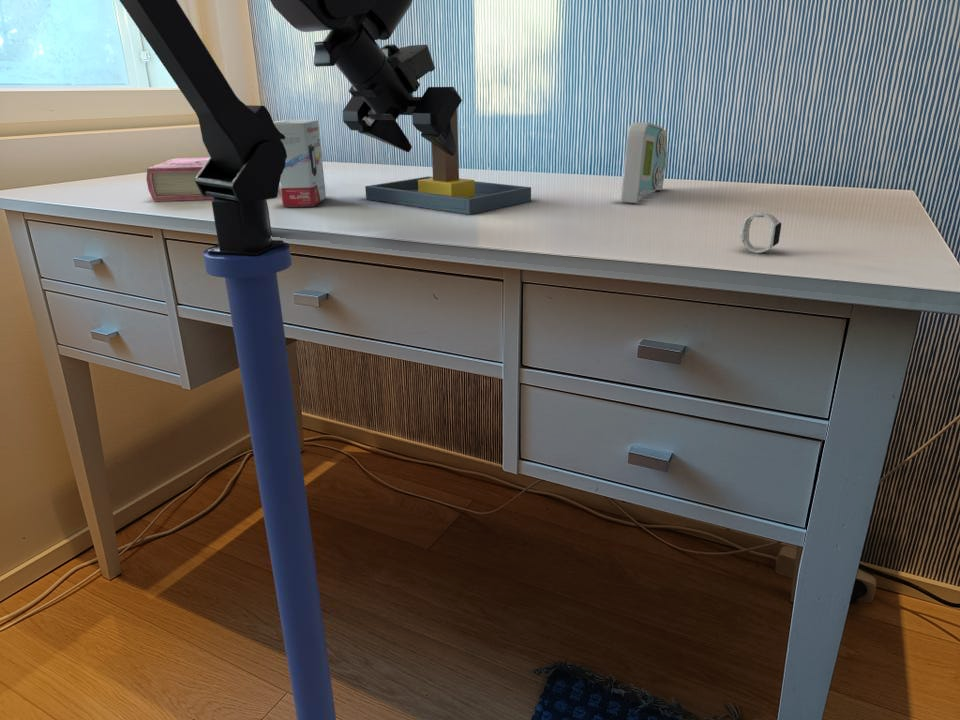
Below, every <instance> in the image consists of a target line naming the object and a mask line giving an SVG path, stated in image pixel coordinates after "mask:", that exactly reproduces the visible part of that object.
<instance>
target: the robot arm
mask: <svg viewBox="0 0 960 720" xmlns="http://www.w3.org/2000/svg"><path fill="white" fill-rule="evenodd" d="M119 2H120V4H121V6H123V8H124V9H125V10H126V12H127V15H128V16H129V17H130V18H131V20H132V21H133V23H134V24H135V25H136V27H137V29H138V30H139V32H140V33H141V35H142V36H143V37H144V39H145V41H146V42H147V43H148V45H149V46H150V48H151V49H152V51H153V52H154V54H155V55H156V57H157V58H158V59H159V62H161V64H162V66H163V67H164V69H165V70H166V71H167V73H168V75H169V76H170V77H171V79H172V80H173V82H174V83H175V85H176V86H177V88H178V89H179V90H180V92H181V94H182V95H183V96H184V98H185V100H186V102H188V104H189V105H190V107H191V108H192V110H193V111H194V113H195V114H196V117H197V119H198V124H199V129H200V133H201V139H202V142H203V145H204V147H205V149H206V151H207V153H208V156H209V157H210V158H209V159H208V161H207V162H206V164H205V165H204V166H203V168H202V169H201V171H200V172H199V174H198V175H197V176H196V178H195V183H196V185H197V186H198V188H199V190H200V192H201V194H202V196H210V197H215V198H213V199H212V200H210V201H211V202H210V203H211V208H212V213H213V219H214V227H215V232H216V239H217V244H218V245H219V246H217V245H216V246H217V247H214V246H213V247H214V248H212V249H209V250H208V254H210V255H233V256H260V255H262V254H264V253H266V252H269V251H271V250H273V249H275V248H277V247H280V246H282V245H284V240H279V239H273V238H272V227H271V219H270V218H271V217H270V210H269V205H268V200H272V199H277V198H278V193H279V189H280V178H281V174H282V173H283V170H284V168H285V162H286V159H287V152H286V149H285V147H284V144H283V143H282V141H281V140H280V139H285V136H284V135H283V134H282V133H280V132H279V130H278V129H277V128H276V127H275V125H274V123H273V122H274V119H273V118H272V116H271V114H270V111H269V110H268V109H267V107H266V106H265V105H250V104H249V105H248V104H245V103H244V102H243V101H242V100H241V99H240V98H239V97H238V96H237V95H236V93H235V92H234V90H233V88H232V87H231V85H230V84H229V82H228V80H227V79H226V77H225V75H224V74H223V72H222V71H221V69H220V67H219V65H218V64H217V63H216V61H215V60H214V58H213V56H212V54H211V53H210V51H209V50H208V48H207V46H206V45H205V43H204V42H203V40H202V38H201V37H200V35H199V33H198V32H197V30H196V29H195V27H194V26H193V24H192V22H191V21H190V19H189V17H188V16H187V14H186V13H185V11H184V10H183V8H182V6H181V4H180V3H179V1H178V0H119ZM269 2H270V3H271V5H272V7H273V8H274V9H275V10H276V11H277V12H278V13H279V14H280V15H281V16H282V17H283V18H284V19H285V21H287V22H288V23H289V25H291V26H292V27H293V28H294V29H295V30H298V31H300V32H301V33H302V32H303V33H310V32H311V33H312V32H322V31H323V32H325V31H329V32H328V34H327V35H326V36H325V38H324V39H323V41H315V42H314V43H313V48H314V52H313V65H314V67H316V68H319V67H321V68H322V67H334V66H336V68H337V69H338V70H339V72H340V73H341V74H342V75H343V76H344V77H345V78H346V80H347V81H348V82H349V83H350V85H351V87H350V88H349V90H348V93H350V95H351V98H350V99H349V100H348V102H347V104H346V105H345V106H344V108H343V110H342V112H341V113H342V122H343V123H344V124H345V125H346V126H347V127H348V129H349V130H350V131H357V132H358V133H359V134H361V135H365V136H367V137H370V138H372V139H375V140H378V141H379V142H382V143H384V144H387V145H389V146H392V147H393V148H396V149H399V150H400V151H403V152H405V153H410V152H411V150H412V148H413V146H412V144H411V142H410V140H409V138H408V137H407V136H406V134H405V132H404V131H403V129H402V128H401V126H400V125H399V123H398V122H397V120H398V118H399V117H400V116H411V120H412V121H411V122H412V123H411V124H412V125H413V127H415V129H416V131H419V133H421V134H420V136H421V137H422V138H423V139H425V140H426V141H428V142H429V143H433V144H434V145H436V146H437V147H439V148H440V149H442V150H443V151H445V152H446V153H448V154H450V155H452V156H454V155H455V153H456V152H457V147H456V143H455V139H454V134H453V130H452V125H451V118H452V116H453V115H454V113H455V111H456V110H457V111H458V108H459V106H460V105H461V103H462V101H463V99H462V96H460V94H459V92H458V91H457V89H456V88H455V87H454V86H427V88H426V89H425V92H424V93H423V95H422V96H414V95H413V94H414V92H415V93H416V92H417V91H418V90H419V88H420V86H421V84H420V82H419V80H420V79H421V78H422V77H424V76H425V75H427V74H428V73H429V72H430V73H432V72H433V71H434V70H436V66H435V63H434V60H433V58H432V57H433V56H432V54H431V51H430V49H429V45H428V44H412V45H407V46H401V47H398V46H397V45H396V44H395V43H393V44H385V45H384V46H382V47H380V46H379V44H378V43H377V40H381V41H386V40H389V39H390V38H391V36H392V35H393V33H394V32H395V31H396V28H397V27H399V24H400V23H401V22H402V20H403V19H404V17H405V16H406V14H407V12H408V10H409V9H410V7H411V6H412V4H413V0H269Z"/></svg>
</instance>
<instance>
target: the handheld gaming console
mask: <svg viewBox="0 0 960 720" xmlns="http://www.w3.org/2000/svg"><path fill="white" fill-rule="evenodd" d="M667 136H668V131H667V130H665V129H663V127H662V126H661V125H658V124H656V123H655V124H654V123H652V122H641V121H640V122H638V121H637V122H636V121H635V122H631V123H630V125H629V127H628V130H627V135H626V142H625V143H626V144H625V152H624V155H625V156H624V163H623V173H622V181H621V182H622V183H621V192H620V193H621V194H620V202H621V203H623V204H634V205H638V204H639V200H640V197H641V196H640V195H641V194H642V193H655V192H656V191H663V189H664V182H665V181H664V180H665V171H666V170H667V165H668V156H669V154H668V137H667Z"/></svg>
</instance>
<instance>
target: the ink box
mask: <svg viewBox="0 0 960 720" xmlns="http://www.w3.org/2000/svg"><path fill="white" fill-rule="evenodd" d="M273 123H274V125H275V127H276V128H277V129H278V130H279V132H280V133H282V134H283V135H284V136H285V139H280V140H281V141H282V143H283V144H284V147H285V149H286V152H287V159H286V162H285V168H284V170H283V173H282V174H281V178H280V183H279V189H280V196H281V197H280V198H281V207H283V208H295V207H296V208H300V207H301V208H305V207H315V206H317V205H318V204H319V203H321V202H322V201H324V200H326V198H327V192H326V184H325V183H326V182H325V175H324V165H323V155H322V144H321V136H320V126H319V120H318V119H282V120H277V121H273Z"/></svg>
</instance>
